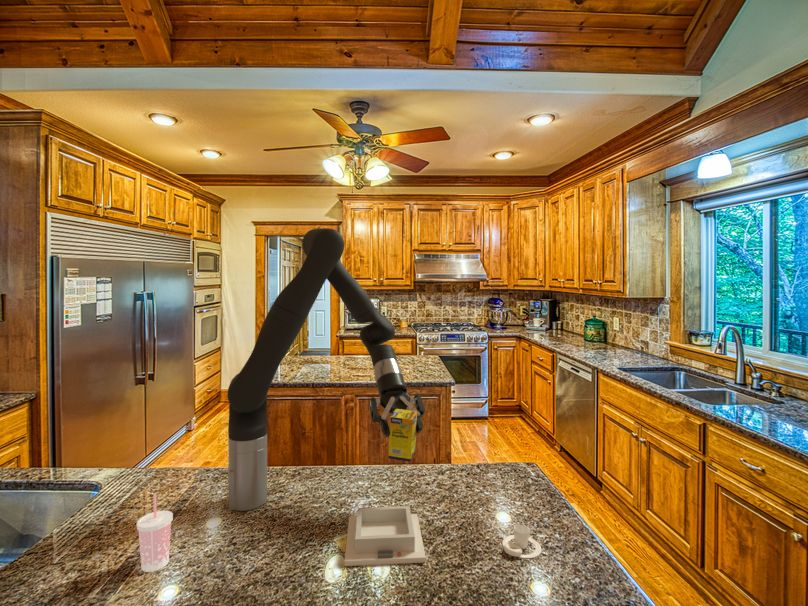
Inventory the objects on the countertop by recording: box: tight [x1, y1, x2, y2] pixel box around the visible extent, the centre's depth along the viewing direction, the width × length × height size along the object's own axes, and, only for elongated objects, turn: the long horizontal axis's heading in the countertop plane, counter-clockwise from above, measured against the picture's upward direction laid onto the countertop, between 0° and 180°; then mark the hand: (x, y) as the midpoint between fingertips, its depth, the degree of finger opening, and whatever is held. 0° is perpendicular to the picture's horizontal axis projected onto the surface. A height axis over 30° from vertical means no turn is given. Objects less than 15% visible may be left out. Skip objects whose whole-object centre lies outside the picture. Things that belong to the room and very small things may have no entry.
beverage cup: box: [136, 492, 174, 573], centre depth 79 cm, size 6×6×14 cm
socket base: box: [343, 505, 427, 567], centre depth 87 cm, size 16×16×4 cm
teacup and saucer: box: [501, 524, 542, 559], centre depth 85 cm, size 9×8×4 cm
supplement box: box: [387, 409, 417, 463], centre depth 101 cm, size 6×6×11 cm
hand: (404, 433), depth 101 cm, fingers closed on supplement box, 8 cm apart
